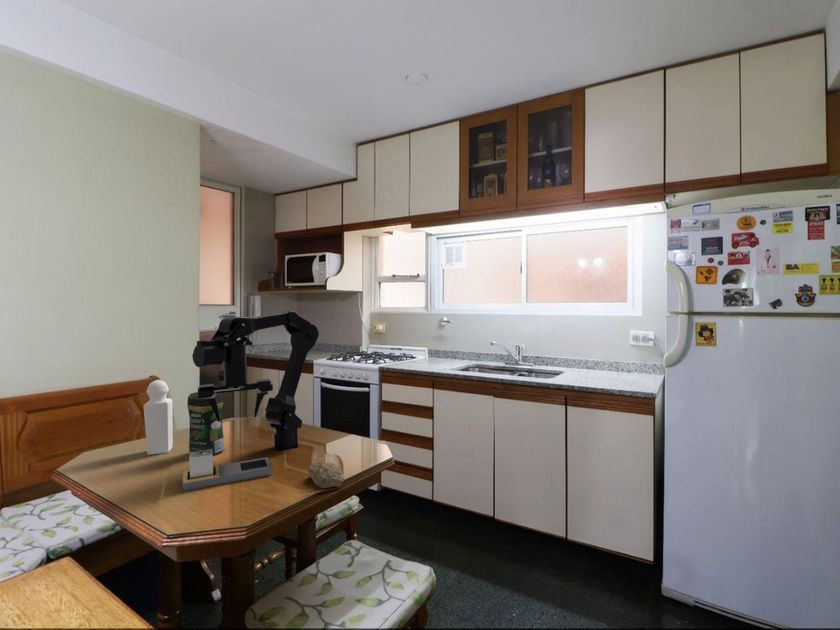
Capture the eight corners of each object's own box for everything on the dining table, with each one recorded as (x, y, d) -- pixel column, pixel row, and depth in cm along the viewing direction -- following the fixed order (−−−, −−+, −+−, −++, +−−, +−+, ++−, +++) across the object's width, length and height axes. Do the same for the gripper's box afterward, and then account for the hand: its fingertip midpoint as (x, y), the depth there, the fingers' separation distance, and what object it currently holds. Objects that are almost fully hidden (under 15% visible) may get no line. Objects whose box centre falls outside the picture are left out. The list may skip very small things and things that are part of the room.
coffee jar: (184, 455, 129) (181, 393, 129) (206, 447, 137) (204, 388, 136) (207, 459, 125) (204, 395, 125) (229, 450, 133) (227, 389, 132)
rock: (319, 494, 99) (318, 475, 99) (304, 478, 109) (303, 461, 108) (350, 486, 103) (350, 467, 103) (333, 471, 113) (333, 455, 113)
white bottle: (174, 446, 139) (171, 377, 138) (169, 453, 132) (166, 380, 132) (151, 449, 136) (148, 379, 136) (145, 456, 130) (142, 382, 130)
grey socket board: (268, 465, 118) (267, 456, 118) (272, 476, 110) (272, 466, 110) (184, 480, 110) (184, 470, 109) (182, 493, 101) (182, 482, 101)
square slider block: (213, 476, 111) (212, 448, 110) (213, 483, 106) (212, 454, 106) (191, 480, 108) (190, 452, 108) (190, 487, 104) (189, 458, 104)
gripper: (267, 357, 131) (269, 409, 131) (197, 362, 123) (199, 417, 123) (272, 361, 121) (274, 416, 121) (196, 366, 113) (199, 426, 113)
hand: (237, 419), depth 120 cm, fingers open, 9 cm apart
